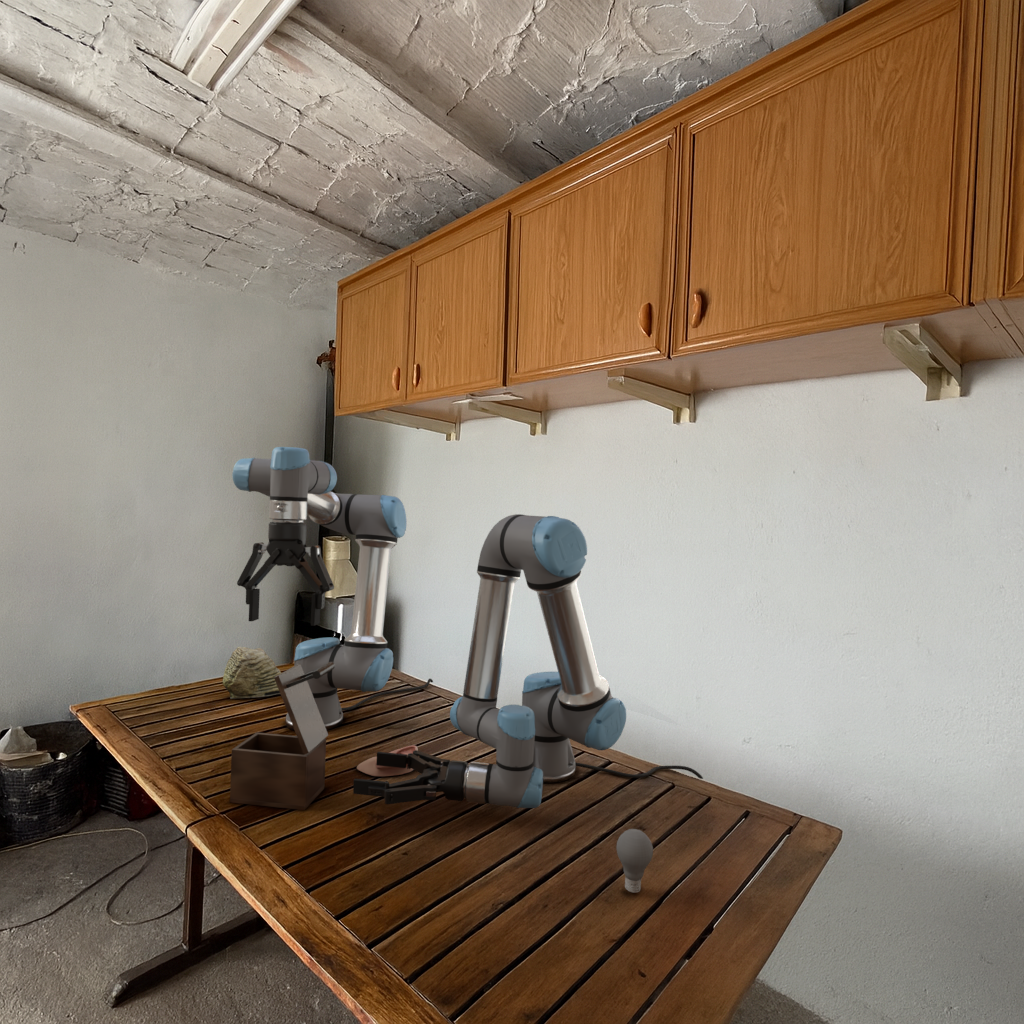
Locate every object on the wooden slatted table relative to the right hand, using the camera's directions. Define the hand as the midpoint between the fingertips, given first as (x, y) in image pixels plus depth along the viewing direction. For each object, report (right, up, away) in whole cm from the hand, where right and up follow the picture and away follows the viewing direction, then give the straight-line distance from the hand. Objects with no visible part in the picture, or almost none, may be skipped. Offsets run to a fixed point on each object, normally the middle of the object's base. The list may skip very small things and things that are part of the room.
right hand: (366, 771), depth 131 cm
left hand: (-18, +31, +1) cm, 35 cm away
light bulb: (+50, -9, -26) cm, 57 cm away
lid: (-14, +13, +1) cm, 19 cm away
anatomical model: (+1, -6, +18) cm, 19 cm away
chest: (-19, -6, +2) cm, 20 cm away
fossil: (-50, -3, +67) cm, 84 cm away
